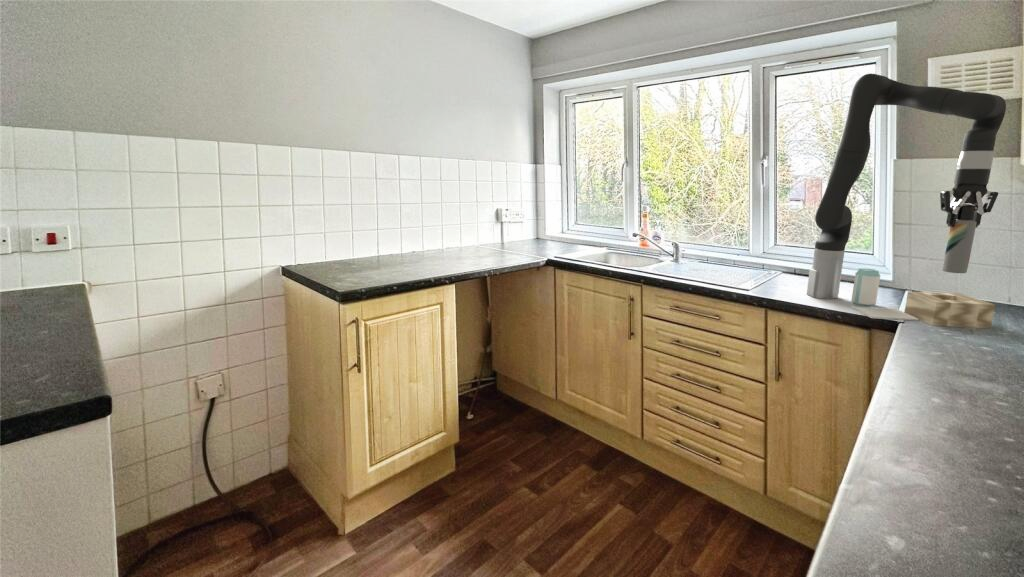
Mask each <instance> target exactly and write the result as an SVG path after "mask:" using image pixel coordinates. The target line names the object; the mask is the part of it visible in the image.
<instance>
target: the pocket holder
mask: <svg viewBox="0 0 1024 577" xmlns="http://www.w3.org/2000/svg"><path fill="white" fill-rule="evenodd" d="M995 310H996V304H994V303H991V302H987V301H984V300H982V299H979V298H976V297H973V296H970V295H966V294H963V293H957V292H956V293H955V292H952V293H951V292H929V291H907V295H906V301H905V308H904V311H903V312H904V313H907V314H909V315H911V316H913V317H915V318H918V319H919V320H920V321H921V322H924V323H926V324H929V325H931V326H936V327H937V326H938V327H939V326H941V327H957V328H959V327H960V328H976V329H978V328H979V329H991V327H992V323H993V318H994V314H995Z"/></svg>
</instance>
